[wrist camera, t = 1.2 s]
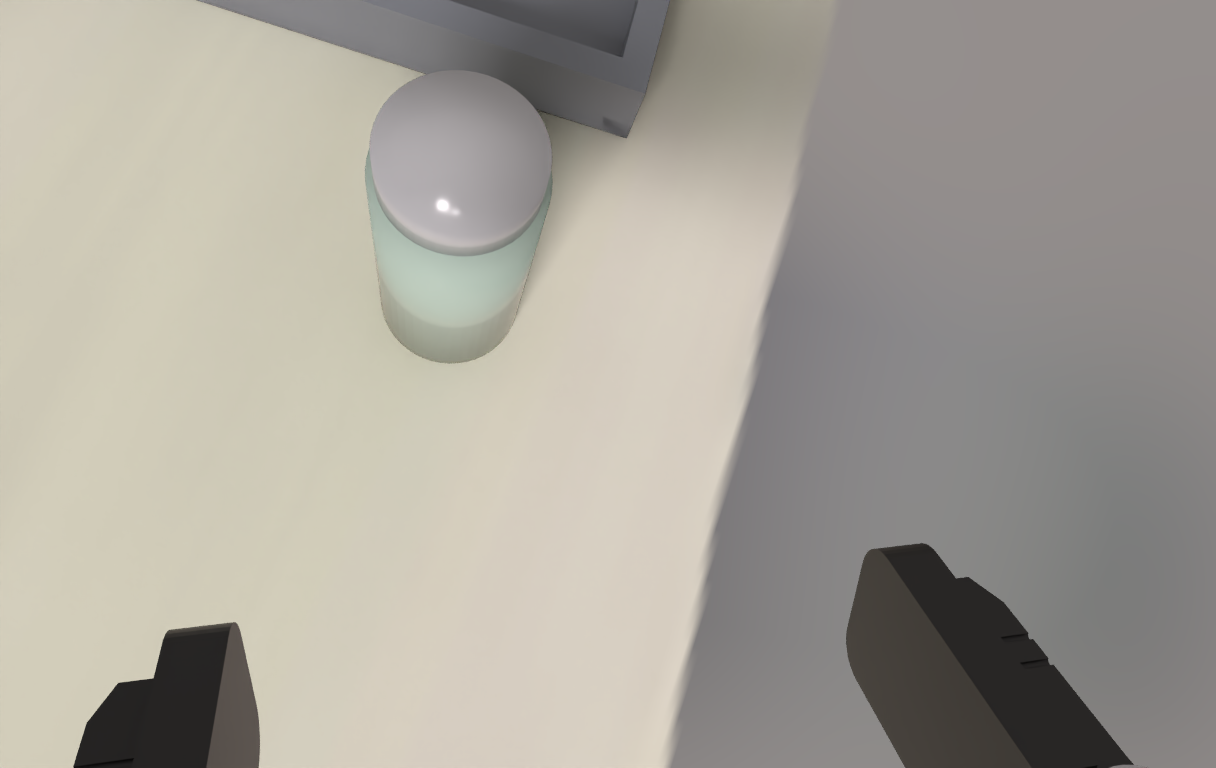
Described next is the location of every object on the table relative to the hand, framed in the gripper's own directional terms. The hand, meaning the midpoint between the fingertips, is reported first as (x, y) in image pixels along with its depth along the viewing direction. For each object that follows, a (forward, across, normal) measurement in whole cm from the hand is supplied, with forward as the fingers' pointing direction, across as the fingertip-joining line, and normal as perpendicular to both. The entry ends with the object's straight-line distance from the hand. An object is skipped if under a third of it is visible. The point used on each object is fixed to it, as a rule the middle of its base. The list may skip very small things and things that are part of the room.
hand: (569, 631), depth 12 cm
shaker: (+25, 0, +7) cm, 26 cm away
